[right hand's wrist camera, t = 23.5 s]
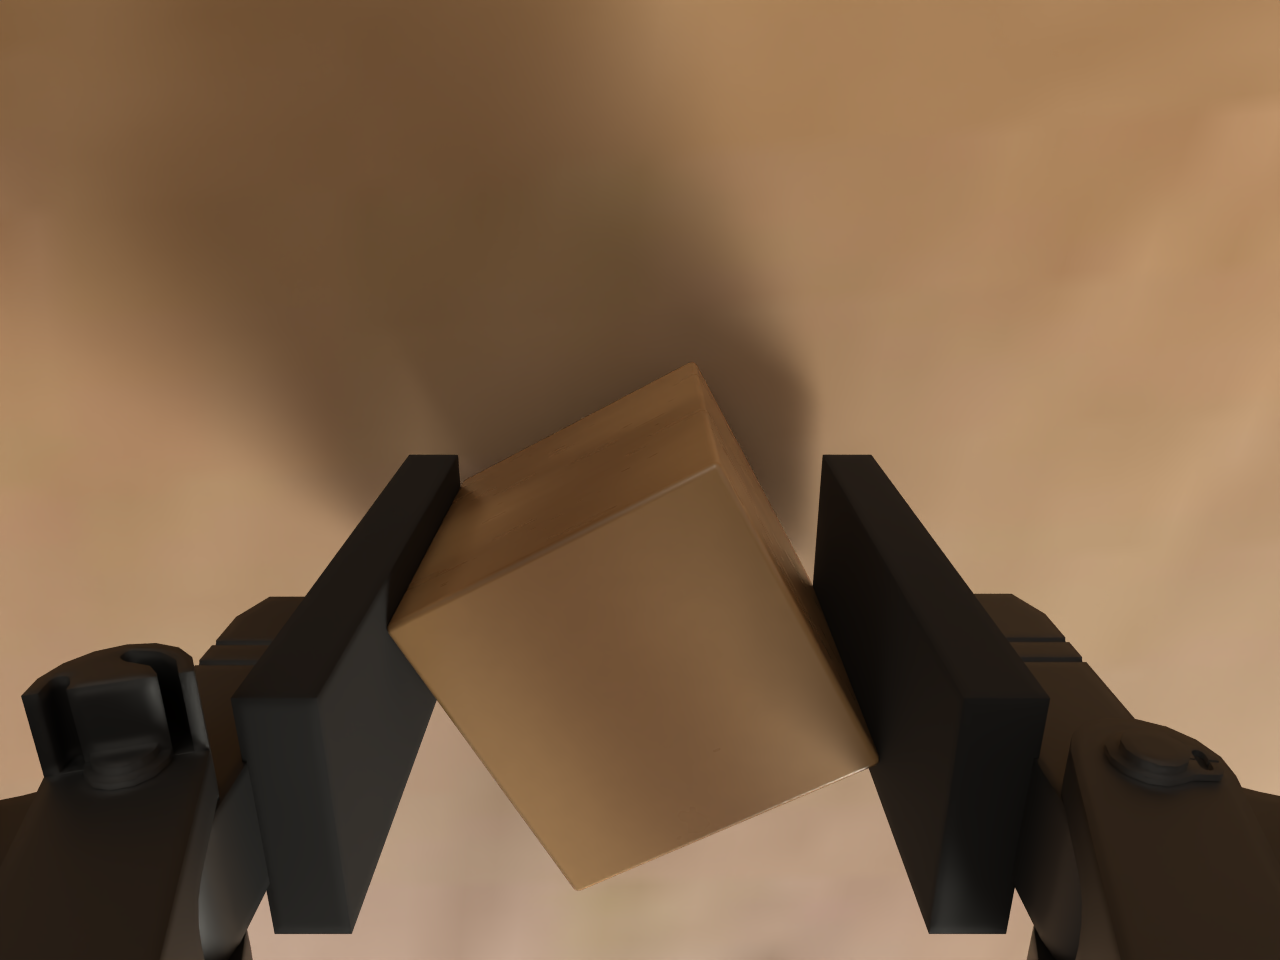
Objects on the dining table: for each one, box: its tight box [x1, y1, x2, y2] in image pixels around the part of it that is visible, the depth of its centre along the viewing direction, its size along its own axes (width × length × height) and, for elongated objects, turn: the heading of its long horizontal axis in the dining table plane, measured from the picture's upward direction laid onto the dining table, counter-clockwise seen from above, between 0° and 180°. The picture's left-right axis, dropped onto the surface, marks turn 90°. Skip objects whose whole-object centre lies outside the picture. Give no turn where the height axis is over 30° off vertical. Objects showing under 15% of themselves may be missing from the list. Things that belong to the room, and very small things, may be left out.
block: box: [387, 362, 879, 891], centre depth 12 cm, size 4×4×5 cm
